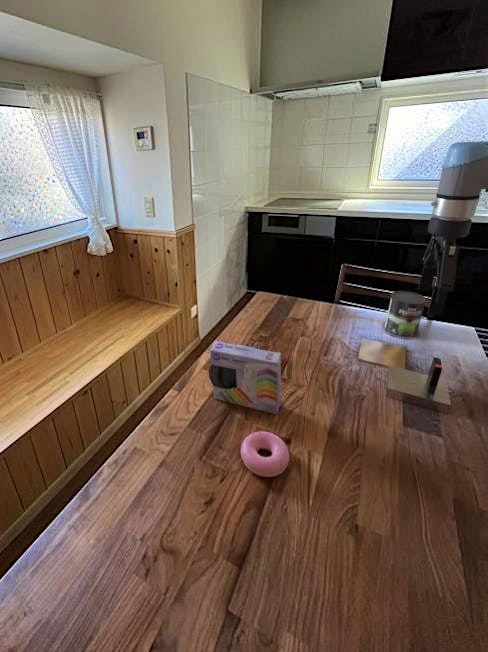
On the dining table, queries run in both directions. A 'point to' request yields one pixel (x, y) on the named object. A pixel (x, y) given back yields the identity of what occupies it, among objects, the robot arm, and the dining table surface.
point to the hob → (417, 389)
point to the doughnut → (265, 464)
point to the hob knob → (434, 374)
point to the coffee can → (404, 313)
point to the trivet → (381, 354)
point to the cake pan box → (246, 376)
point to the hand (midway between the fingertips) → (428, 301)
